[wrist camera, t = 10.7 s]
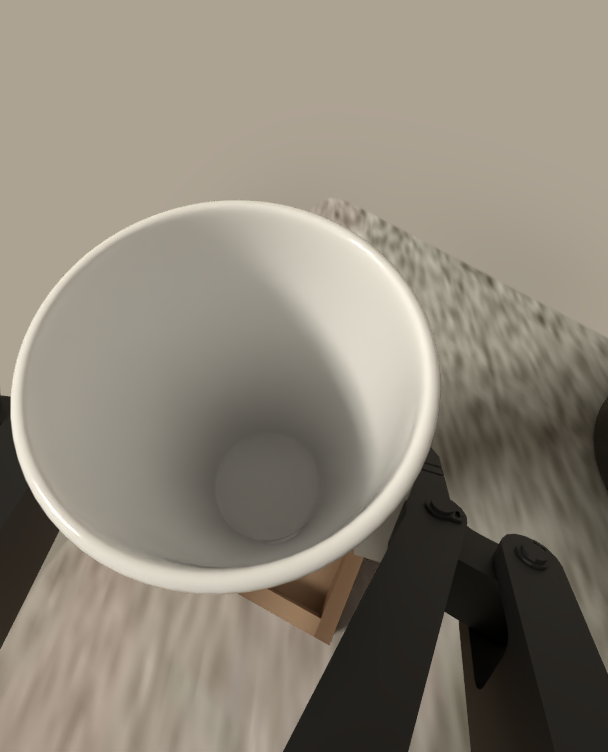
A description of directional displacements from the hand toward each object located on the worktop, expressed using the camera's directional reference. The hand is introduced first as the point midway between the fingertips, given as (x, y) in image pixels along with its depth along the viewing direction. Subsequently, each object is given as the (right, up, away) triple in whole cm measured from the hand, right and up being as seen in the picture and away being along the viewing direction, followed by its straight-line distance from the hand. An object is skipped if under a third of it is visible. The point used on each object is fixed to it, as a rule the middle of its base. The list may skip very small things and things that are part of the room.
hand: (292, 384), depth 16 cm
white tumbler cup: (-1, -5, +4) cm, 7 cm away
